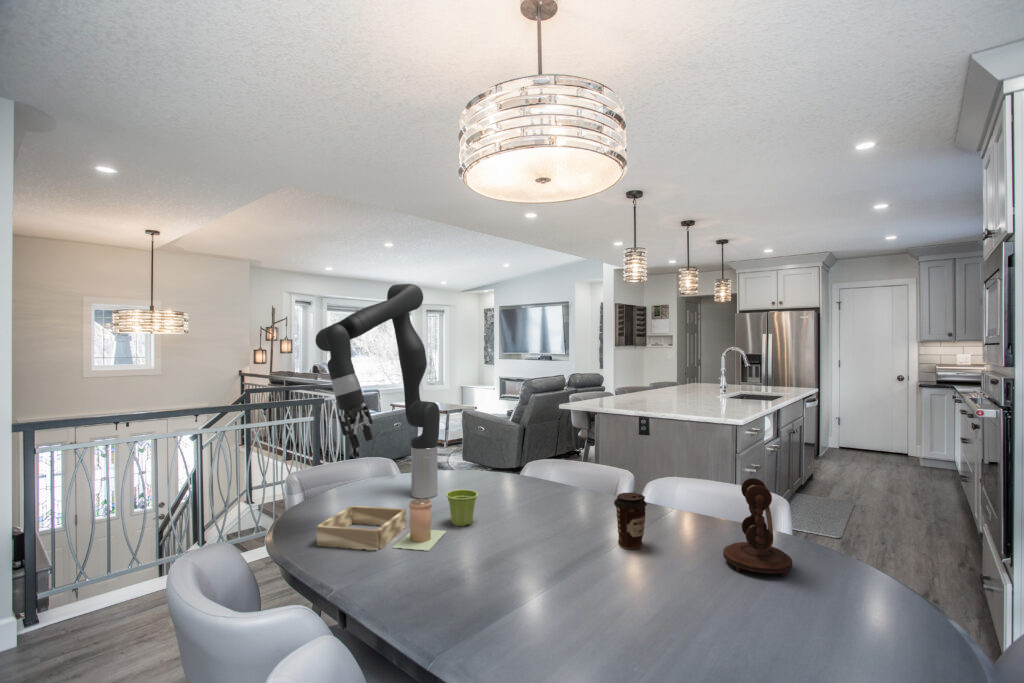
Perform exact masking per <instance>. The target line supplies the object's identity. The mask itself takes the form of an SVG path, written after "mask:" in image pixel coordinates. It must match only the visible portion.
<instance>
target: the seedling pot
mask: <svg viewBox="0 0 1024 683" xmlns="http://www.w3.org/2000/svg"><path fill="white" fill-rule="evenodd" d="M408 508H409V532H410V541H412V542H415V543H422V542H426V541H429V540H430V539H431V530H432V510H431V509H432V500H431V499H430V498H415V499H411V500H410V501H409V502H408Z"/></svg>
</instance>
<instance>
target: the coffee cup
mask: <svg viewBox="0 0 1024 683" xmlns="http://www.w3.org/2000/svg"><path fill="white" fill-rule="evenodd" d="M645 499H646V496H644V495H643V494H639V493H637V492H621V493H618V494H617V497H616V499H614V501H613V504H614V506H615V509H616V520H617V533H618V540H617V544H618V546H619V547H620V548H623V549H627V550H637V549H641V548H643V545H644V544H643V537H644V534H645V525H646V524H645V523H646V506H647V505H648V503H647V502H646V500H645Z"/></svg>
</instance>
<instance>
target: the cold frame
mask: <svg viewBox="0 0 1024 683" xmlns="http://www.w3.org/2000/svg"><path fill="white" fill-rule="evenodd" d="M352 523H354V524H352ZM355 523H356V524H355ZM351 524H352V525H362V524H371V525H370V526H376V525H382V526H378V528H377V529H374V528H373V529H372V528H361V527H360V528H359V527H350V526H352V525H351ZM349 525H350V526H349ZM348 526H349V527H348ZM404 528H405V529H407V509H406V508H394V507H380V506H379V507H378V506H363V505H362V506H361V505H352V506H348V507H346V508H344V509H342V510H341V511H339V512H338V513H336V514H333V515H332V516H331V517H329V518H327V519H326V520H324V521H323V522H321V523H319V524H317V526H316V546H317V547H325V546H326V547H327V548H337V547H340V549H349V548H351V549H352V550H353V549H354V550H361V549H366V550H365V551H373V550H377V551H378V550H382V549H383V548H384V547H386V546H387V545H388V544H389V543H390V542H391V541H392V540H393V538H394V537H395V536H396V535H397V534H398V533H400V532H401V531H402V530H403V529H404ZM405 529H404V530H405ZM404 530H403V531H404ZM403 531H402V532H403ZM402 532H401V533H402ZM401 533H400V534H401ZM398 535H399V534H398ZM398 535H397V536H398ZM397 536H396V537H397ZM396 537H395V538H396ZM395 538H394V539H395ZM391 539H392V540H391ZM390 540H391V541H390ZM389 541H390V542H389ZM388 542H389V543H388ZM387 543H388V544H387ZM383 546H384V547H383ZM326 547H325V548H326ZM382 547H383V548H382ZM381 548H382V549H381ZM351 549H350V550H351Z"/></svg>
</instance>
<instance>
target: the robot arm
mask: <svg viewBox="0 0 1024 683" xmlns="http://www.w3.org/2000/svg"><path fill="white" fill-rule="evenodd" d="M386 295H387V296H386V300H383V301H381V302H378V303H375V304H373V305H369V306H367V307H364V308H362V309H359V310H357V311H355V312H353V313H352V314H350V315H348V316H346V317H345V318H343V319H341V320H339V321H338V322H335V323H333V324H331V325H329V326H327V327H325V328H322V329H321V330H319V331H318V332H317V334H316V336H315V341H314V342H315V345H316V346H317V347H318V349H320V350H321V351H324V352H329V354H330V356H329V357H330V359H329V360H328V362H327V364H326V365H327V369H328V374H329V377H330V381H331V386H332V390H333V393H334V397H335V401H336V404H337V407H338V410H339V411H343V414H340V415H338V421H339V425H340V428H341V433H342V435H343V436H344V437H345V436H346V437H348V439H349V443H350V445H351V448H352V449H358V448H359V447H360V446H361V445H360V441H359V437H358V434H357V428H358V427H359V426H360V427H361V429H362V432H363V437H364V439H365V440H364V441H365V442H369V441H372V440H373V439H374V437H373V434H372V431H371V427H372V424H373V423H374V422H373V419H372V415H371V413H370V412H371V411H370V410H369V407H368V405H363V404H365V399H364V393H363V391H362V387H361V384H360V381H359V378H358V377H357V374H356V371H355V367H354V364H353V361H352V347H351V346H352V345H351V344H352V343H351V340H353V339H356V338H358V337H360V336H362V335H364V334H366V333H368V332H369V331H372V329H374V328H376V327H379V326H380V325H382V324H384V323H385V322H387V321H389V320H391V321H392V325H393V328H394V330H393V331H394V335H395V340H396V345H397V351H398V352H397V353H398V360H399V365H400V370H401V376H402V382H403V383H402V384H403V392H404V395H403V396H404V408H405V410H404V411H405V417H406V420H407V424H408V425H410V426H411V427H414V428H415V427H416V428H422V432H421V434H420V435H418V436H415V437H413V438H412V439H411V442H410V448H411V449H410V451H411V452H410V456H411V458H410V461H411V463H410V465H411V468H410V469H411V470H410V471H411V472H410V480H411V492H410V494H411V497H413V498H415V499H430V498H434V497H436V496H438V494H439V493H438V489H439V486H438V485H439V481H438V480H439V479H438V478H439V476H438V473H439V472H438V465H439V464H438V442H439V437H440V423H441V422H440V420H441V419H440V418H441V413H440V411H441V410H440V408H439V405H438V404H437V402H435V401H425V400H423V401H422V399H421V395H420V387H421V386H420V385H421V381H422V379H423V378H424V375H425V373H426V371H427V366H428V362H427V354H426V349H425V348H426V347H425V345H424V343H423V341H422V339H421V337H420V336H419V334H418V333H417V331H416V329H415V327H414V325H413V323H412V320H411V315H410V312H413V311H415V310H416V311H417V310H418V309H419V308H420V307H421V305H423V304H422V303H423V302H424V293H423V291H422V289H421V287H420V286H418V285H416V284H413V283H400V284H399V283H398V284H393V285H391V286H390V287H389V288H388V290H387V294H386Z"/></svg>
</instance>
